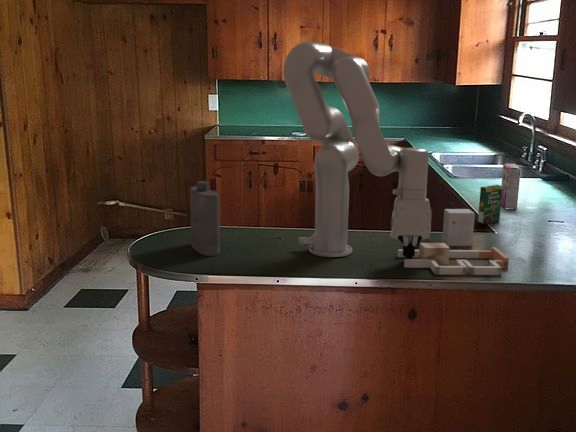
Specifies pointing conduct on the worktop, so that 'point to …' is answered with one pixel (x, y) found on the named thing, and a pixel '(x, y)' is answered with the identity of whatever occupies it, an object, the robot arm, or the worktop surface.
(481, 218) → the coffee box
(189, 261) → the worktop surface
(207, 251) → the flask
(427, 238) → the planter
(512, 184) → the candy bar box
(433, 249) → the beech block
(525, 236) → the worktop surface
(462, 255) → the channel
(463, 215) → the small box
